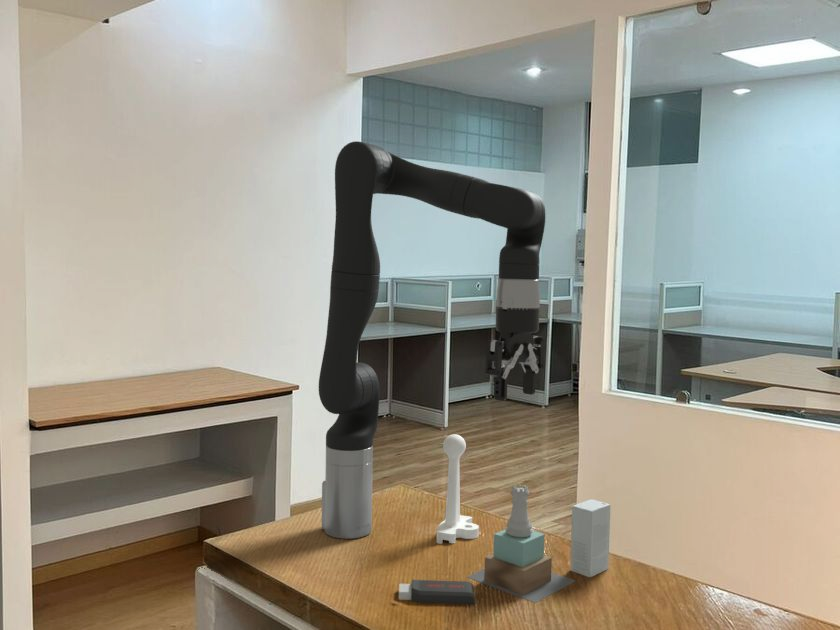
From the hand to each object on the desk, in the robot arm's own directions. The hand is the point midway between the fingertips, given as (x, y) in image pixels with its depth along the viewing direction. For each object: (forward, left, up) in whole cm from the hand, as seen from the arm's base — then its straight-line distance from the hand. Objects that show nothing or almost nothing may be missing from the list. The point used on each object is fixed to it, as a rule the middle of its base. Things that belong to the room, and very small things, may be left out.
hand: (514, 396), depth 137 cm
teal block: (+6, -6, -26) cm, 27 cm away
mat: (+6, -5, -30) cm, 31 cm away
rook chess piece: (+6, -6, -22) cm, 23 cm away
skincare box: (+12, +7, -30) cm, 33 cm away
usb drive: (0, -20, -31) cm, 37 cm away
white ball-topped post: (-15, +4, -30) cm, 34 cm away
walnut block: (+6, -6, -30) cm, 31 cm away
